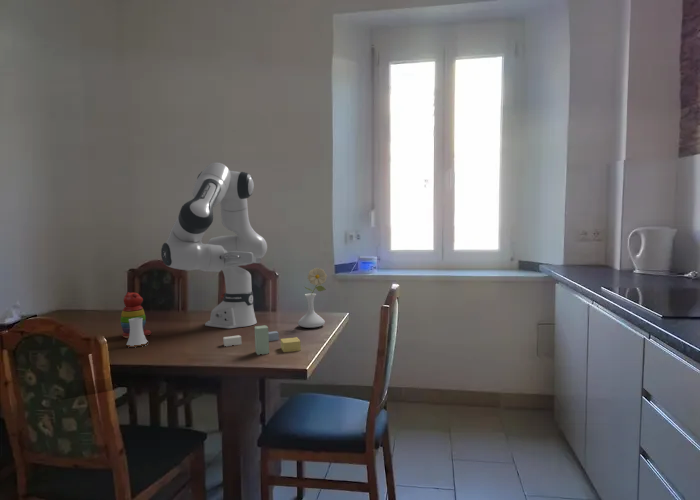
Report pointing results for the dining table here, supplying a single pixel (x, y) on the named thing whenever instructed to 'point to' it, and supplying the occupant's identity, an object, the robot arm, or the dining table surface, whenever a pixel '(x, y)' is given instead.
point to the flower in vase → (311, 317)
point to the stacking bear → (132, 312)
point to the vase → (136, 332)
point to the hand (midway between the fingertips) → (253, 261)
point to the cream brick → (232, 340)
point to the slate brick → (273, 336)
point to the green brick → (261, 340)
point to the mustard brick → (290, 344)
